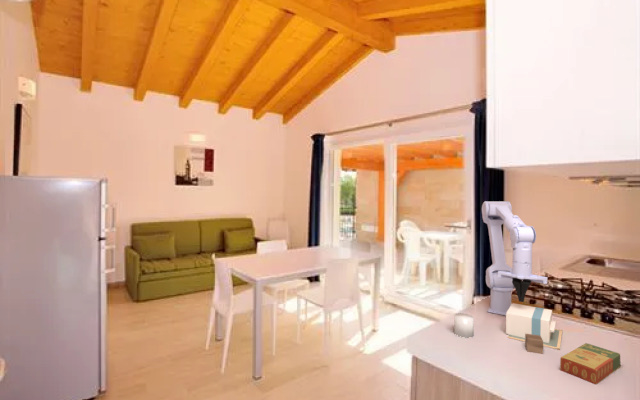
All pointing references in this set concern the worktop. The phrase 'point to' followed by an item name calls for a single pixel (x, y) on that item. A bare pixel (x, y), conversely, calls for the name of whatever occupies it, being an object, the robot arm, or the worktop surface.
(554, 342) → the display mat
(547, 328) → the milk carton
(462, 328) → the white glossy dome
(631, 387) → the worktop surface
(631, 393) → the worktop surface
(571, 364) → the carton
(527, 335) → the walnut block
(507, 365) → the worktop surface
